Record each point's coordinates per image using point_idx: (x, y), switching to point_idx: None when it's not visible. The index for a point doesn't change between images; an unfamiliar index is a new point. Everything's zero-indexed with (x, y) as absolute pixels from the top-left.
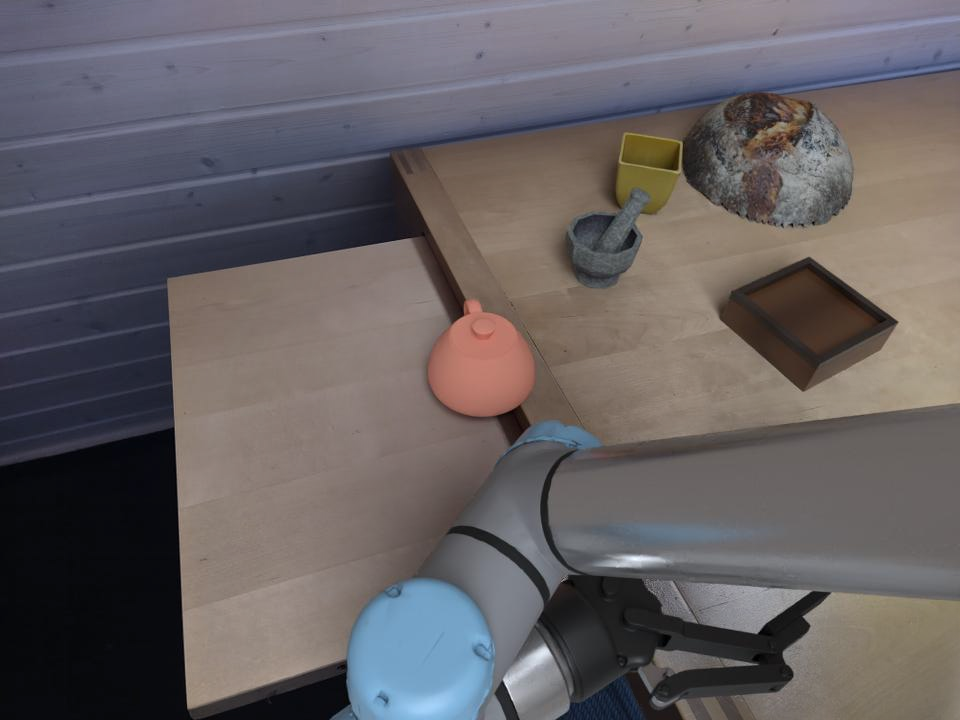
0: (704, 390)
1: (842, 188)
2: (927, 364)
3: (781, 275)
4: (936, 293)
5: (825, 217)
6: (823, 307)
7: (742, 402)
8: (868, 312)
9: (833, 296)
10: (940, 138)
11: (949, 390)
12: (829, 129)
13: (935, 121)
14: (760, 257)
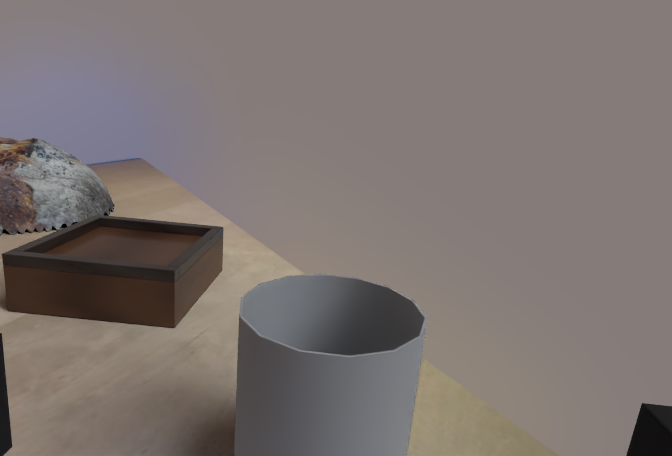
0: (15, 394)
1: (101, 190)
2: (267, 265)
3: (71, 229)
4: (230, 230)
5: (98, 214)
6: (141, 242)
7: (95, 376)
8: (190, 233)
9: (145, 234)
10: (160, 177)
11: (300, 272)
12: (61, 149)
13: (150, 172)
14: None
